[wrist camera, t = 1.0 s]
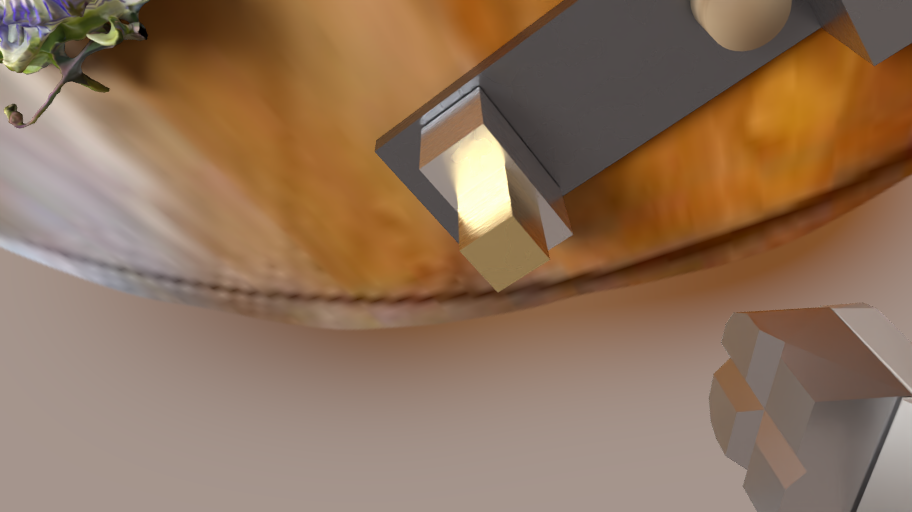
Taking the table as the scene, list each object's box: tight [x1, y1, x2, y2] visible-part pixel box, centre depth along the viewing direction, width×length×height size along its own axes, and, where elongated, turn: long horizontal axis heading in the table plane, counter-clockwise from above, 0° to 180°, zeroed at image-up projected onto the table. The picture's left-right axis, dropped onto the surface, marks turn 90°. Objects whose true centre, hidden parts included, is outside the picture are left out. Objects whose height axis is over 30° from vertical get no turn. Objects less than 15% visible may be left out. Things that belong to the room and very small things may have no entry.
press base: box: [375, 0, 912, 243], centre depth 41 cm, size 26×9×8 cm, turn 128°
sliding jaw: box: [419, 87, 573, 292], centre depth 41 cm, size 4×8×10 cm, turn 38°
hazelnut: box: [690, 0, 792, 51], centre depth 39 cm, size 4×4×3 cm
